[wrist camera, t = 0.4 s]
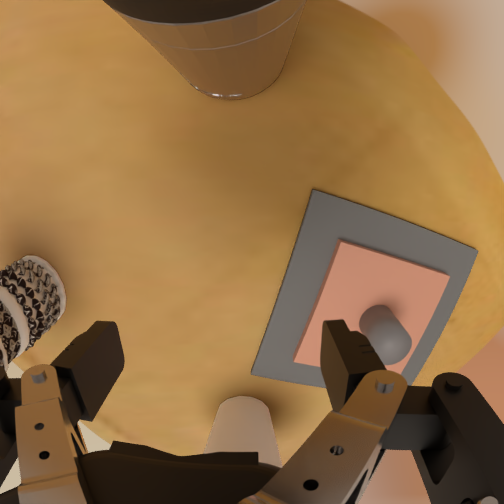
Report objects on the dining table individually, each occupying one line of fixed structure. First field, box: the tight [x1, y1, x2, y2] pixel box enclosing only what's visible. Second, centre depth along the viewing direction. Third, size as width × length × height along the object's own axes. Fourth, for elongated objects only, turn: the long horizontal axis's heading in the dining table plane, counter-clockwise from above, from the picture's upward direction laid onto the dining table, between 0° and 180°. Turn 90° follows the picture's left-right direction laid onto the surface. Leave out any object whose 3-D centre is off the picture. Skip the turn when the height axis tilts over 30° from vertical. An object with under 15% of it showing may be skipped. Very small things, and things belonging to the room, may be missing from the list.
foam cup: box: [203, 396, 283, 468], centre depth 29 cm, size 10×9×13 cm
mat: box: [251, 189, 478, 388], centre depth 31 cm, size 20×20×1 cm
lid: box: [293, 239, 450, 374], centre depth 28 cm, size 13×13×6 cm
